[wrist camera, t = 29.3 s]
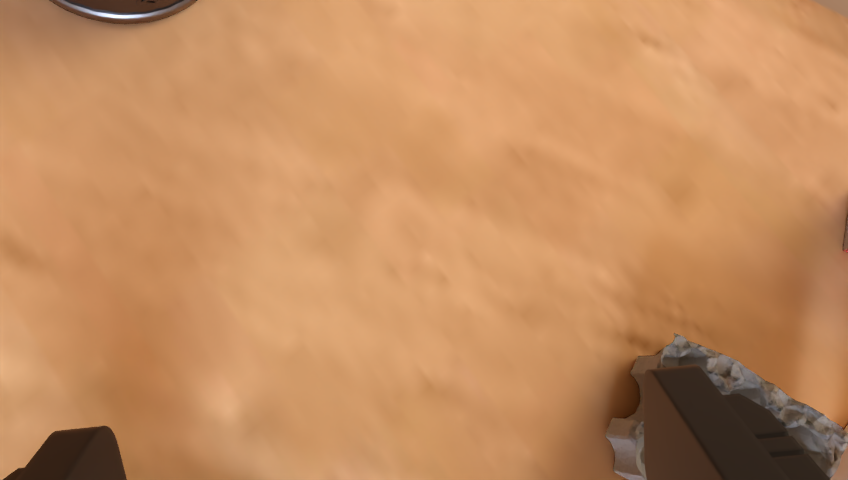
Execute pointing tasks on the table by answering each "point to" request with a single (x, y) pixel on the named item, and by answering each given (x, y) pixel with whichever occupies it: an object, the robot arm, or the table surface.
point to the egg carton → (730, 378)
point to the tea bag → (846, 239)
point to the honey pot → (842, 465)
